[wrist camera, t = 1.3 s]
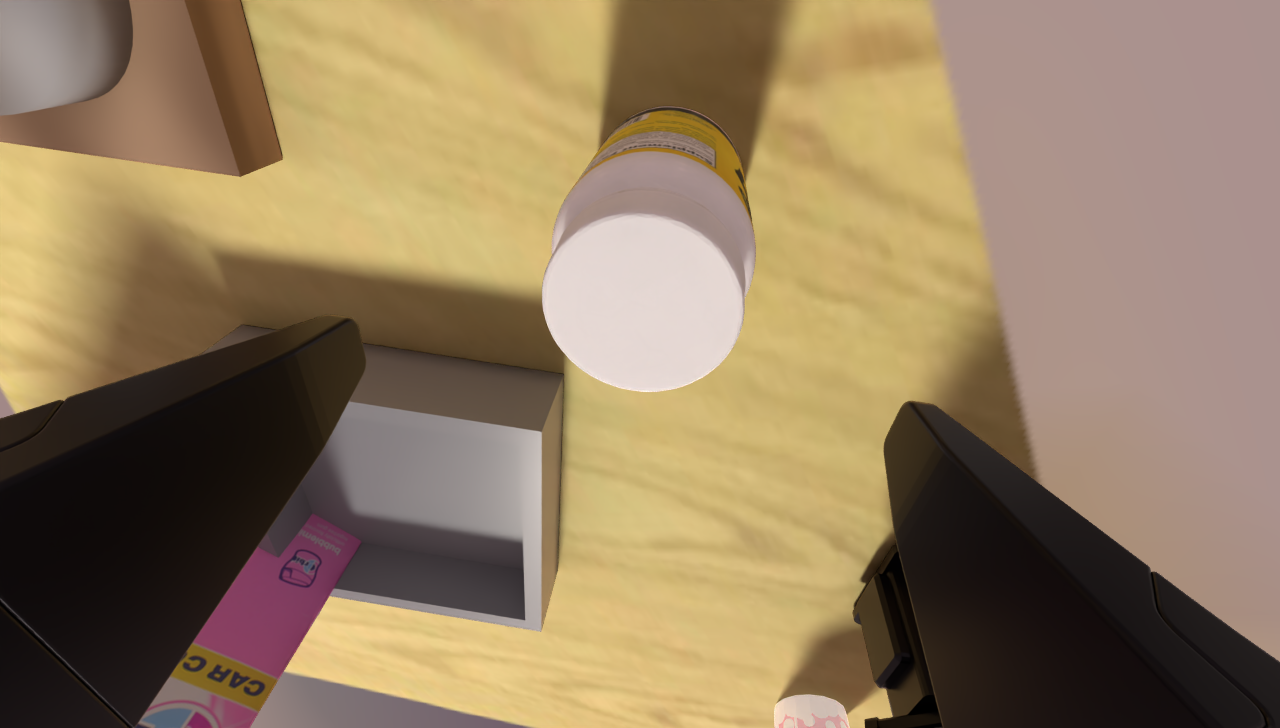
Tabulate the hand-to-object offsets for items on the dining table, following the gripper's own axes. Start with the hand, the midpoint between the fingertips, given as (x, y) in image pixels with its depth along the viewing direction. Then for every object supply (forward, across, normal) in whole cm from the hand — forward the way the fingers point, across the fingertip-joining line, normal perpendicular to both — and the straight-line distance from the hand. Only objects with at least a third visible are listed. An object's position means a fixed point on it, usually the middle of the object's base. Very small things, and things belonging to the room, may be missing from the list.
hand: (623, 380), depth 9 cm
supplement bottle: (+11, 0, 0) cm, 11 cm away
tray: (+10, +10, +15) cm, 21 cm away
